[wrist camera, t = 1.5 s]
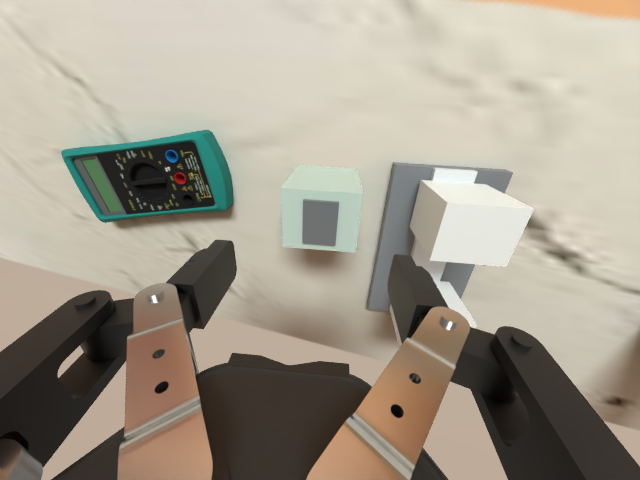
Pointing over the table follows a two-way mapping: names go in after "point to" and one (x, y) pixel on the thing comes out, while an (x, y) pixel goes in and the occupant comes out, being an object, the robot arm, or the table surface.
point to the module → (321, 208)
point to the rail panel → (404, 234)
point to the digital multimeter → (153, 177)
